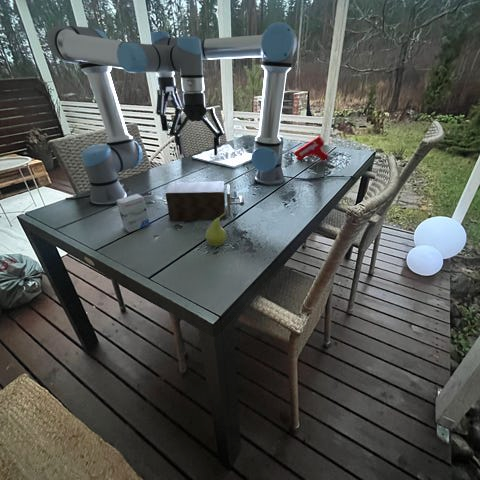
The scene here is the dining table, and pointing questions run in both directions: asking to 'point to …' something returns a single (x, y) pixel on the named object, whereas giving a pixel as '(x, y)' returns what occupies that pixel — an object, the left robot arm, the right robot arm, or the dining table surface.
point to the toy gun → (312, 149)
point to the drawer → (232, 198)
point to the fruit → (216, 233)
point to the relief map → (226, 156)
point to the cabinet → (195, 201)
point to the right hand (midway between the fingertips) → (172, 127)
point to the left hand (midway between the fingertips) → (198, 154)
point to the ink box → (133, 212)
